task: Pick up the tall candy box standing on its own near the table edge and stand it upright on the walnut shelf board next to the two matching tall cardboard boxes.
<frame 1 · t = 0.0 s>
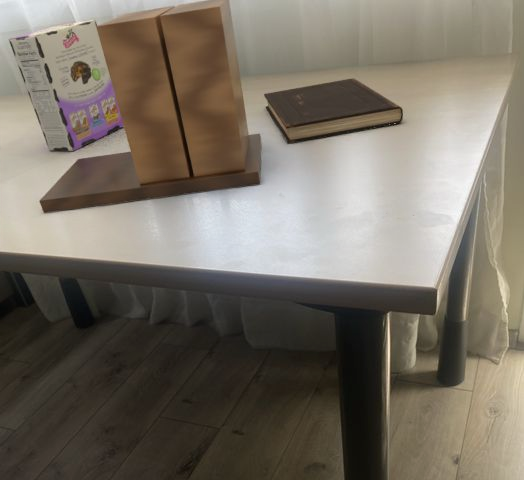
hardcover book: (326, 116, 82), on the table
candy box: (89, 139, 91), on the table
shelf: (160, 176, 68), on the table
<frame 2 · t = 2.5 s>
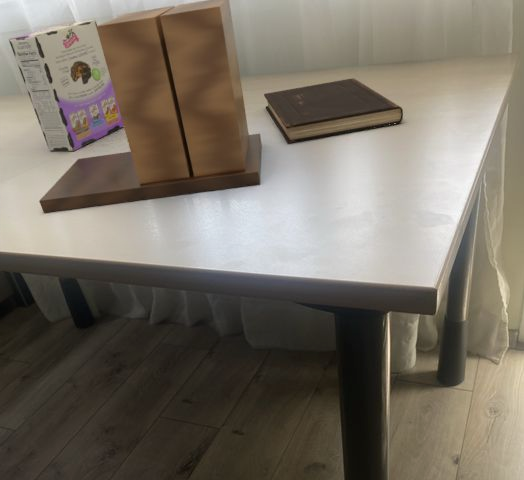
nothing on the table moved.
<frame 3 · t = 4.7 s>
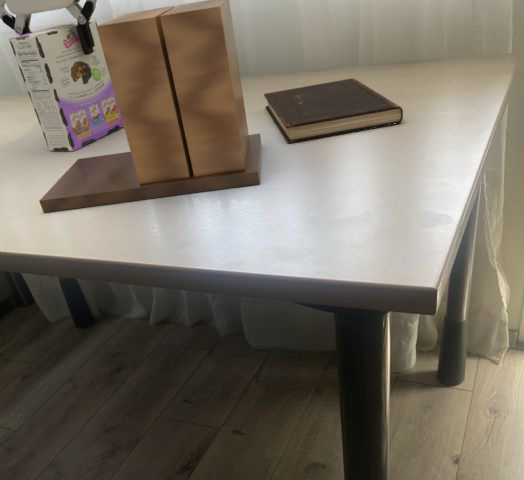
hand: (63, 57, 83), 12 cm above the table, tool pointing down, fingers closed on candy box, 8 cm apart
candy box: (89, 139, 91), on the table, touching gripper
everything else where it was.
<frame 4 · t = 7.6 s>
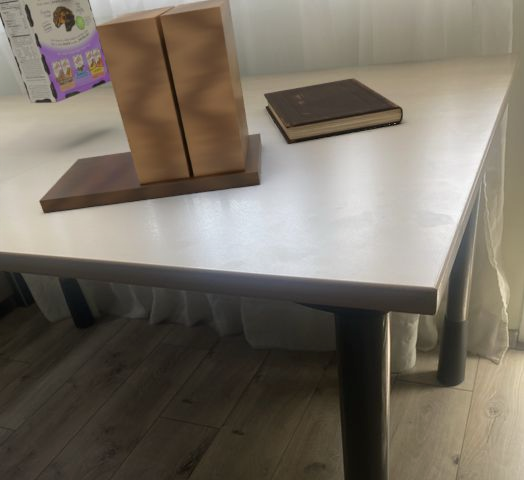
candy box: (73, 93, 86), point 7 cm above the table, touching gripper
everything else where it was.
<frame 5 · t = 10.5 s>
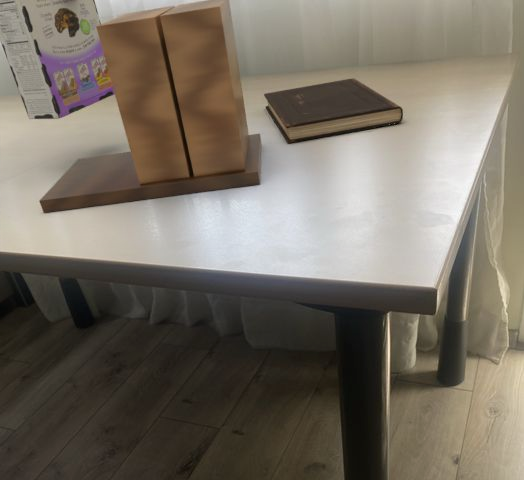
candy box: (77, 107, 76), point 7 cm above the table, touching gripper
everything else where it was.
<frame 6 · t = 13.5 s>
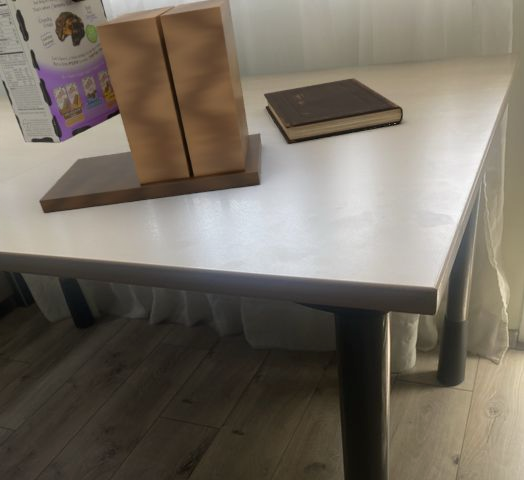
hand: (42, 5, 57), 20 cm above the table, tool pointing down, fingers closed on candy box, 7 cm apart
candy box: (81, 127, 65), point 7 cm above the table, touching gripper
everything else where it was.
when the fingers open (14 cm above the table, at t = 16.1 s): candy box stays where it is, resting on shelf.
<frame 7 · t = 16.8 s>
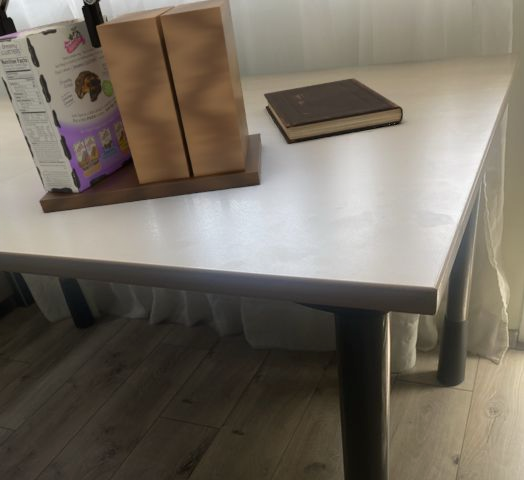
hand: (58, 52, 60), 15 cm above the table, tool pointing down, fingers open, 9 cm apart
candy box: (97, 174, 68), point 1 cm above the table, touching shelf
everything else where it was.
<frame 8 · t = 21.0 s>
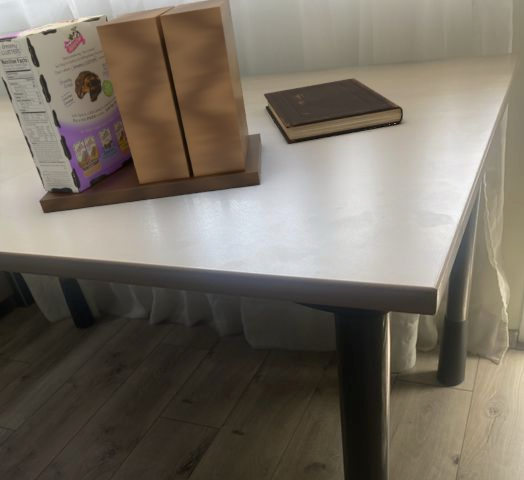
nothing on the table moved.
at the end: candy box 0.0 cm from the target spot on the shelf, point 1.3 cm above the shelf's base; candy box tilted 0°; the gripper is holding nothing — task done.
